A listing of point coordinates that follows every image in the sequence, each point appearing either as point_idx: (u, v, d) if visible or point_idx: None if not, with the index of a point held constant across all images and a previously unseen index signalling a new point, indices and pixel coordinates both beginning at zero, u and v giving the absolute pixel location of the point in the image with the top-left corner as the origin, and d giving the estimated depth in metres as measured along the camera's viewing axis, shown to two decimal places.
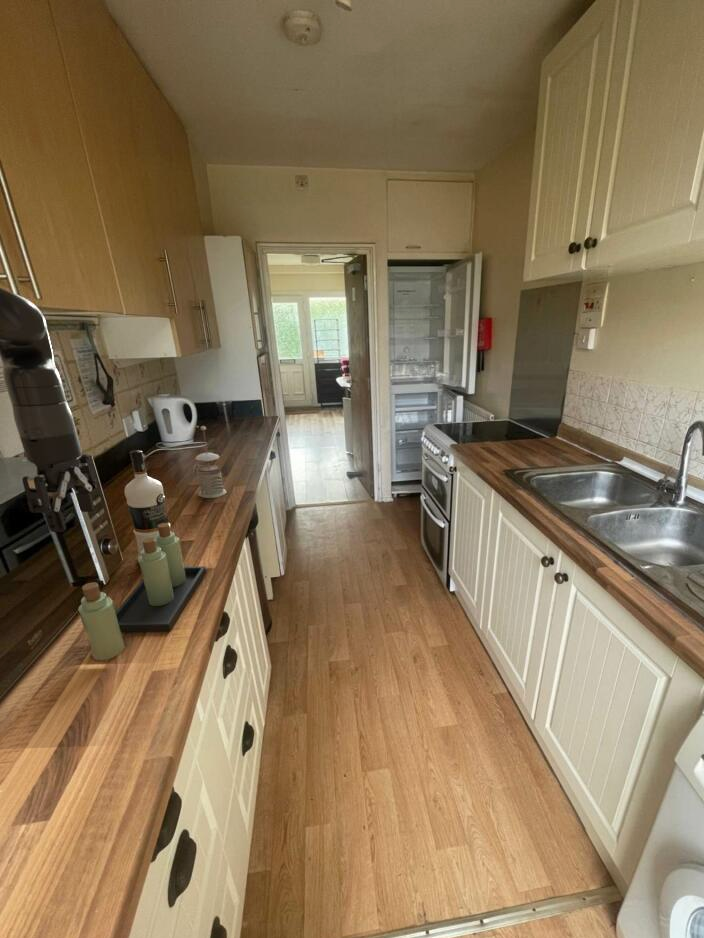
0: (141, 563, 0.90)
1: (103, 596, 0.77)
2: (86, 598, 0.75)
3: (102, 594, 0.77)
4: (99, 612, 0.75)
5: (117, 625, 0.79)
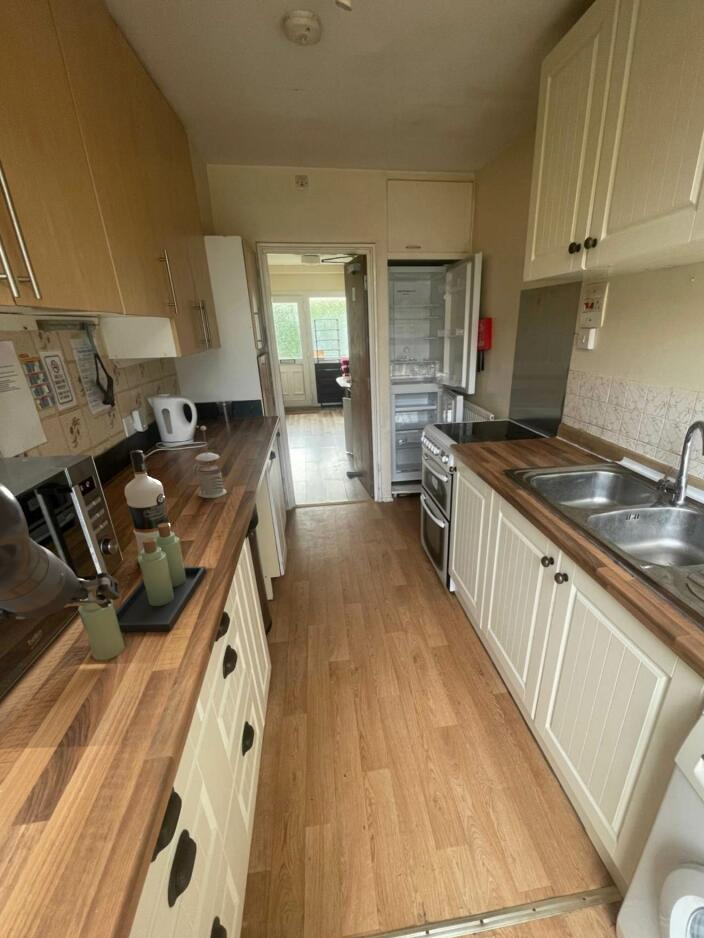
0: (141, 563, 0.90)
1: None
2: None
3: None
4: (99, 612, 0.75)
5: (117, 625, 0.79)
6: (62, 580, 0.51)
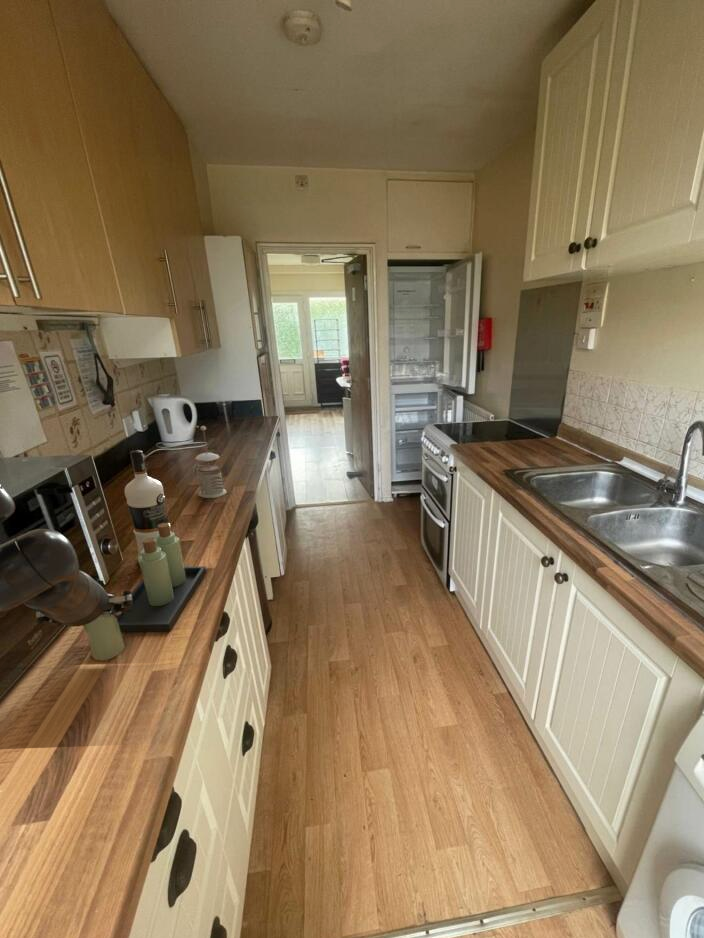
0: (141, 563, 0.90)
1: None
2: None
3: None
4: None
5: (117, 625, 0.79)
6: (98, 598, 0.65)
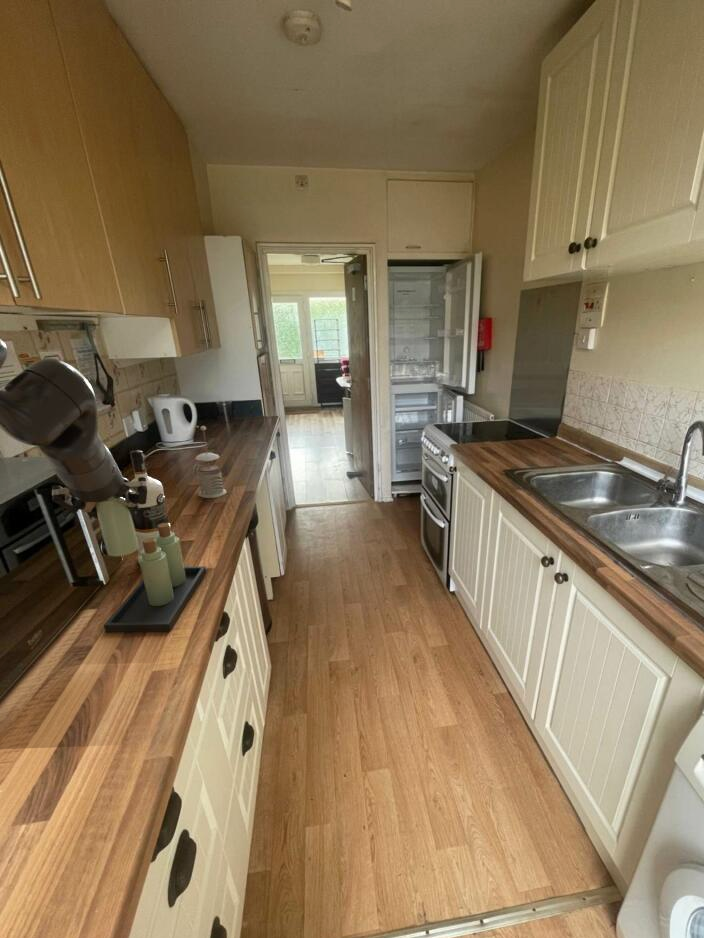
0: (141, 563, 0.90)
1: None
2: None
3: None
4: None
5: (131, 520, 0.79)
6: (114, 469, 0.65)
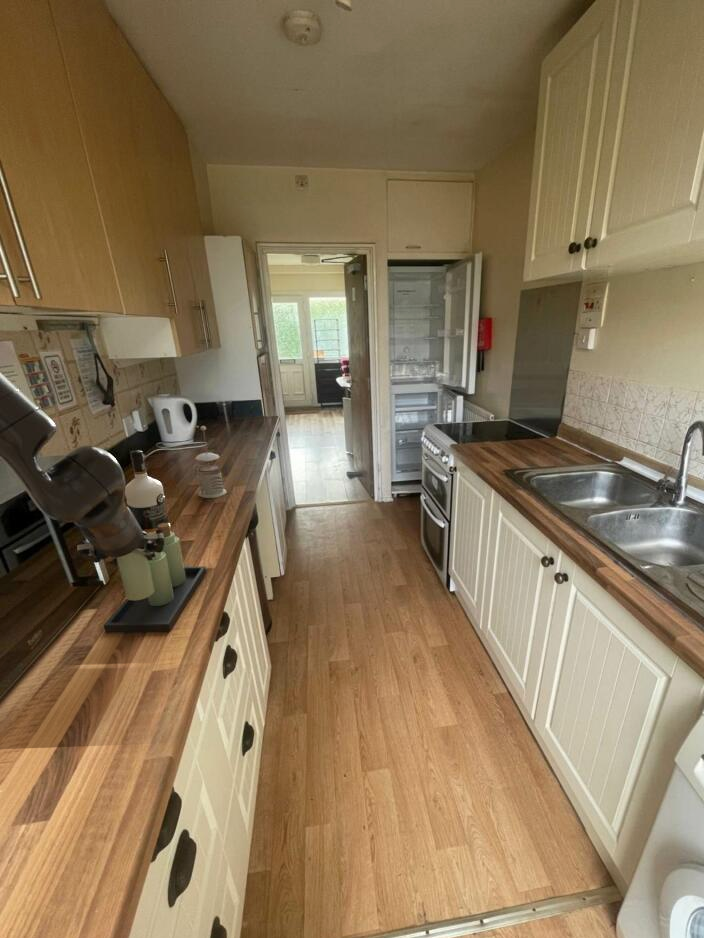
0: None
1: None
2: None
3: None
4: None
5: (148, 566, 0.85)
6: (136, 528, 0.71)
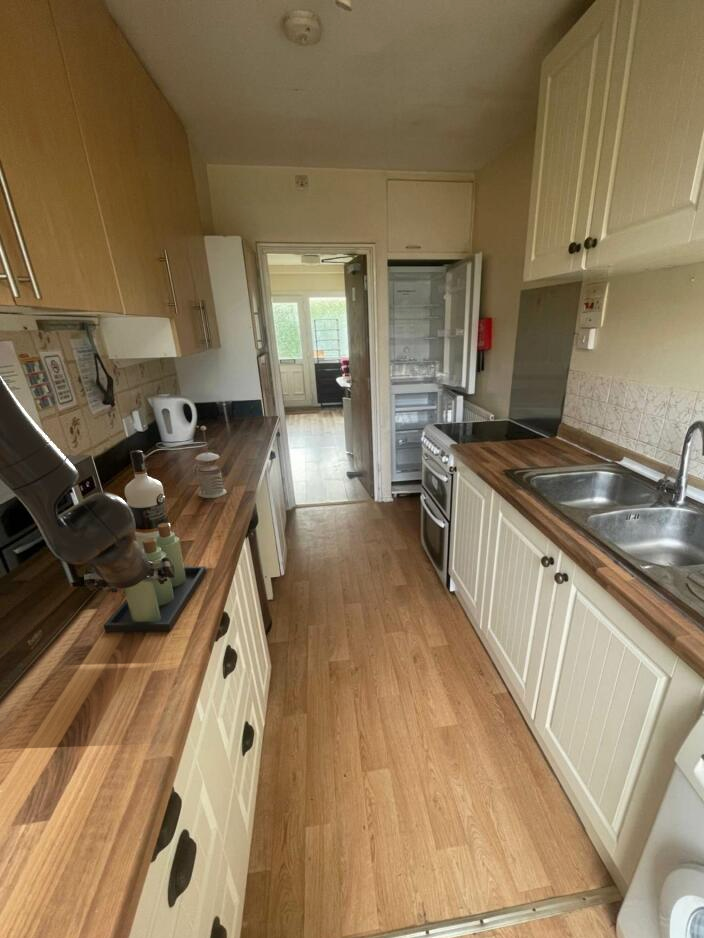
0: None
1: None
2: None
3: None
4: None
5: (155, 595, 0.87)
6: (143, 562, 0.73)
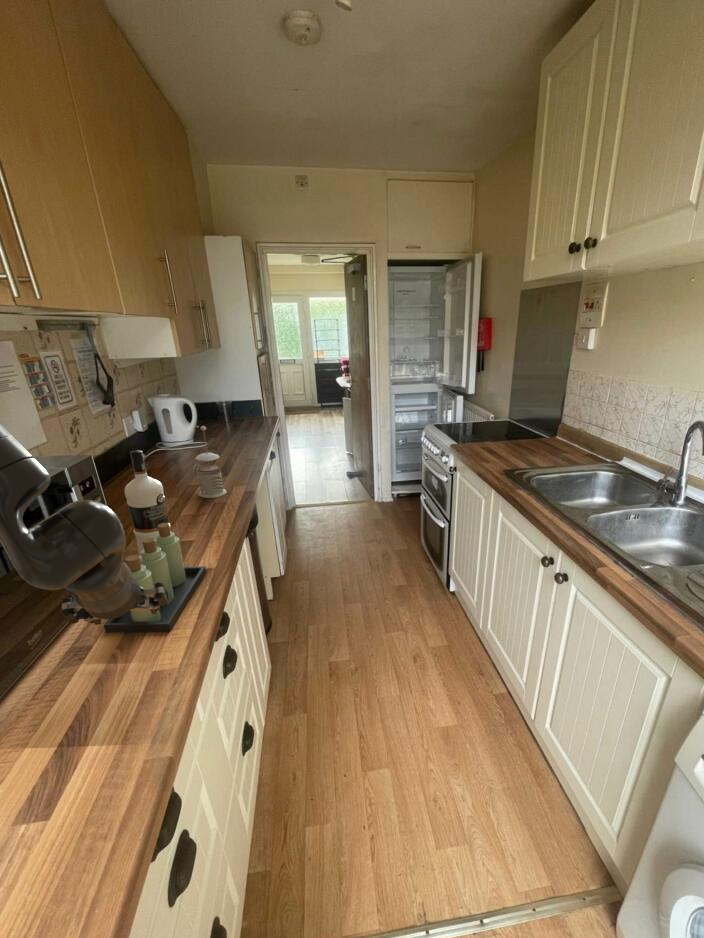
0: (141, 563, 0.90)
1: (143, 567, 0.85)
2: None
3: (142, 566, 0.85)
4: (140, 581, 0.83)
5: None
6: (133, 587, 0.62)
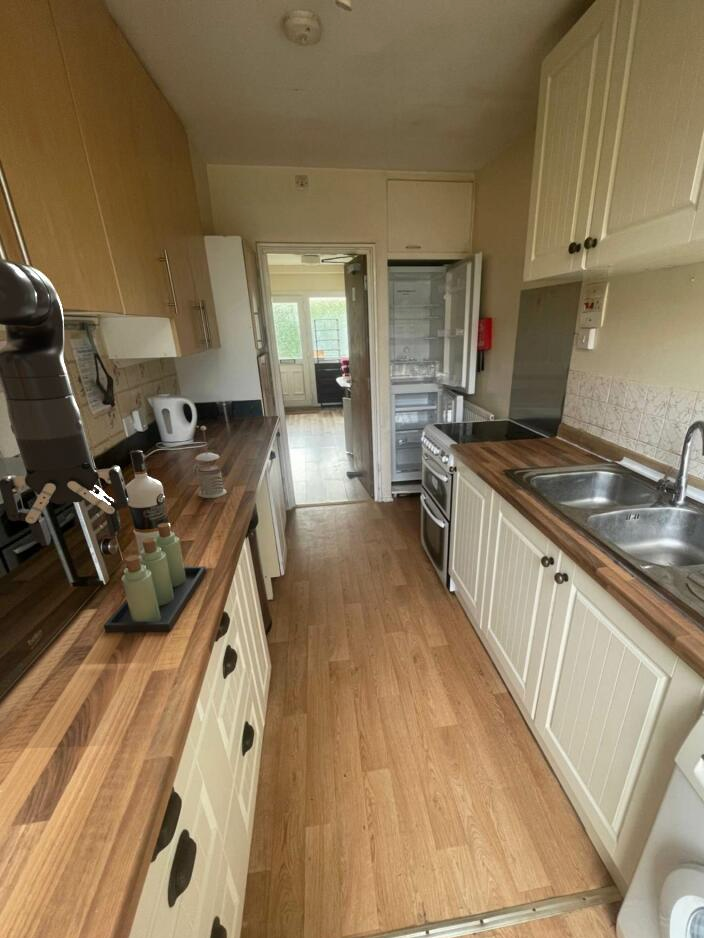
0: (141, 563, 0.90)
1: (143, 567, 0.85)
2: (129, 569, 0.83)
3: (142, 566, 0.85)
4: (140, 581, 0.83)
5: (155, 595, 0.87)
6: (79, 424, 0.57)
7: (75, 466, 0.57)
